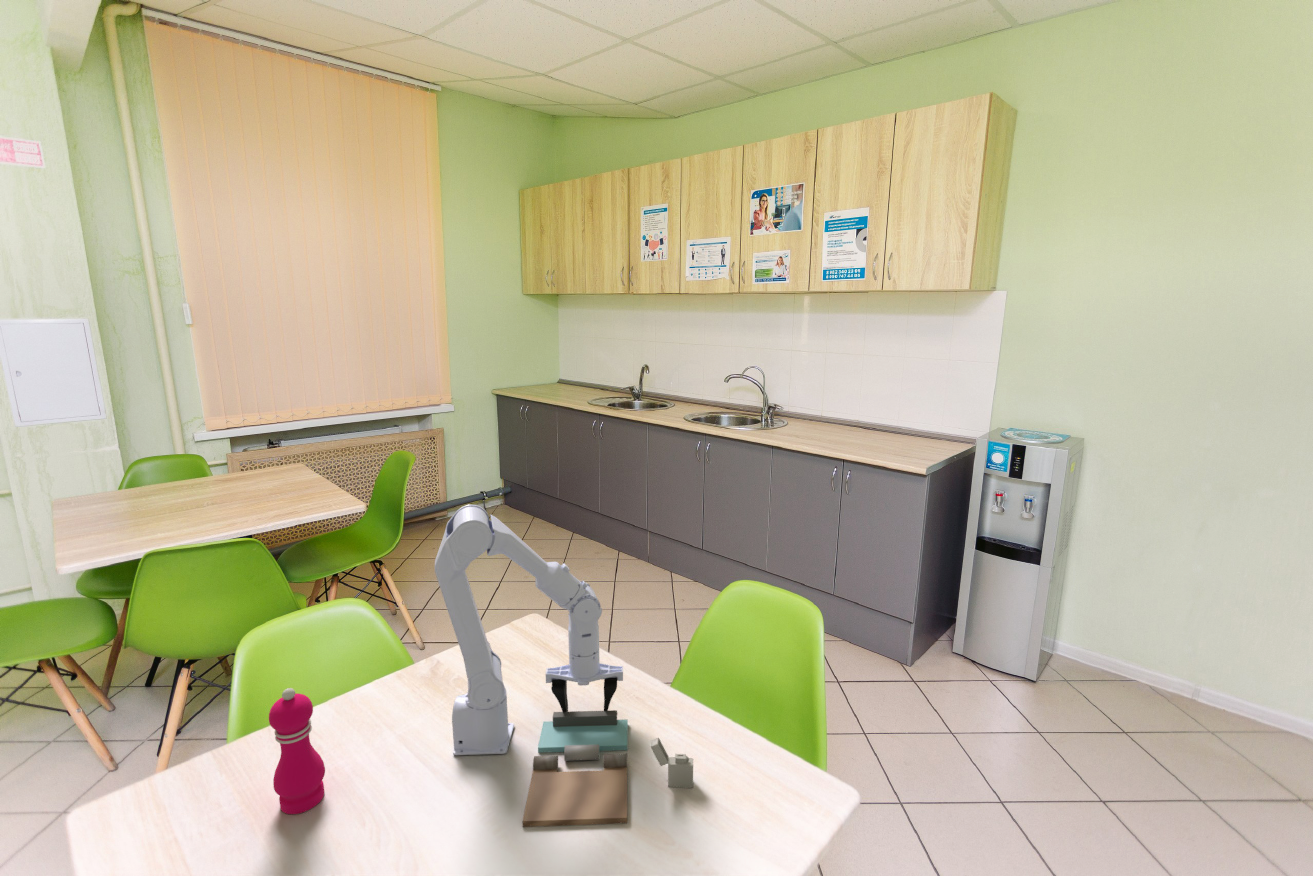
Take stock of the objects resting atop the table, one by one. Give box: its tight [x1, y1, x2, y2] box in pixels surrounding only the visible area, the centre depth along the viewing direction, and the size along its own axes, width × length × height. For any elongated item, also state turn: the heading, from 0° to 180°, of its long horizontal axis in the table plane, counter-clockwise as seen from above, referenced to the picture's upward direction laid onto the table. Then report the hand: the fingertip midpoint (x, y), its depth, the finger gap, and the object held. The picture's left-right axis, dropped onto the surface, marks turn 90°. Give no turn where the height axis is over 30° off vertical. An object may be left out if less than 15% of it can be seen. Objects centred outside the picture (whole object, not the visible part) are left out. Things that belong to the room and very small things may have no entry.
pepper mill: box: [268, 687, 326, 815], centre depth 99 cm, size 7×7×20 cm
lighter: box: [650, 737, 694, 789], centre depth 103 cm, size 7×2×8 cm, turn 86°
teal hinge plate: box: [537, 710, 629, 762], centre depth 113 cm, size 16×10×3 cm, turn 92°
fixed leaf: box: [521, 752, 628, 828], centre depth 102 cm, size 16×13×2 cm
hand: (585, 713), depth 120 cm, fingers open, 7 cm apart
